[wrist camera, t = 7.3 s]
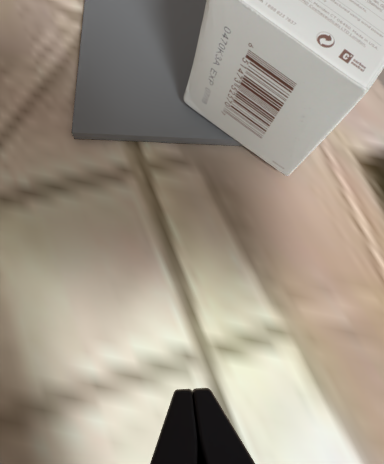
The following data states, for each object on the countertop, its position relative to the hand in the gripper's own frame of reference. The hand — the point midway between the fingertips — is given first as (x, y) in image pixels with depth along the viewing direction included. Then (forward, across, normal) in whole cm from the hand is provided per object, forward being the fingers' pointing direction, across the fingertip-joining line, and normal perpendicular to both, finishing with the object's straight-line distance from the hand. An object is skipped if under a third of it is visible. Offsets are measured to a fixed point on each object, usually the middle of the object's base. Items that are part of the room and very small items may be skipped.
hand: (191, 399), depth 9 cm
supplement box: (+11, -4, -5) cm, 13 cm away
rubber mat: (+18, 0, -6) cm, 19 cm away
